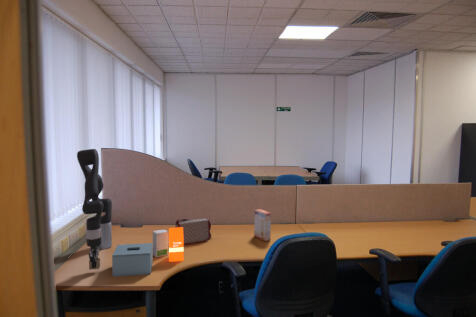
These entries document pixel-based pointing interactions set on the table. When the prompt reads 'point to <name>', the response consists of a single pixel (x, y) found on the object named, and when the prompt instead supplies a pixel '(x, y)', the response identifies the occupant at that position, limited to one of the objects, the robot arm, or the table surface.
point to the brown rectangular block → (96, 264)
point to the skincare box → (160, 243)
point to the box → (132, 259)
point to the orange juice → (176, 244)
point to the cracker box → (262, 224)
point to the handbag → (195, 230)
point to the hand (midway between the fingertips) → (94, 266)
